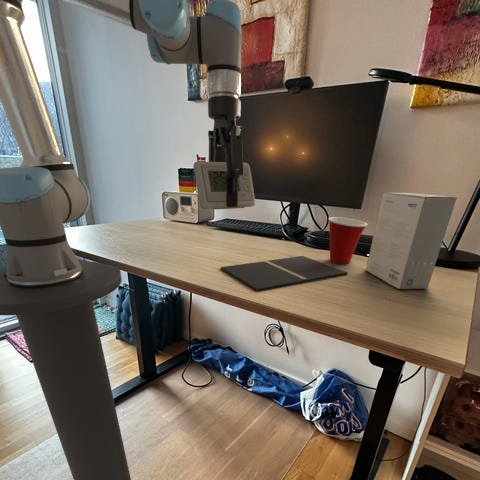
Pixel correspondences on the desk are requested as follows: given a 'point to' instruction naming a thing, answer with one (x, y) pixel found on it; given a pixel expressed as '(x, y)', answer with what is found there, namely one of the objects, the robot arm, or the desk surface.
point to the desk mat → (281, 272)
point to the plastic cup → (344, 238)
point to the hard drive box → (409, 238)
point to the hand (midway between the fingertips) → (225, 205)
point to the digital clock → (221, 185)
